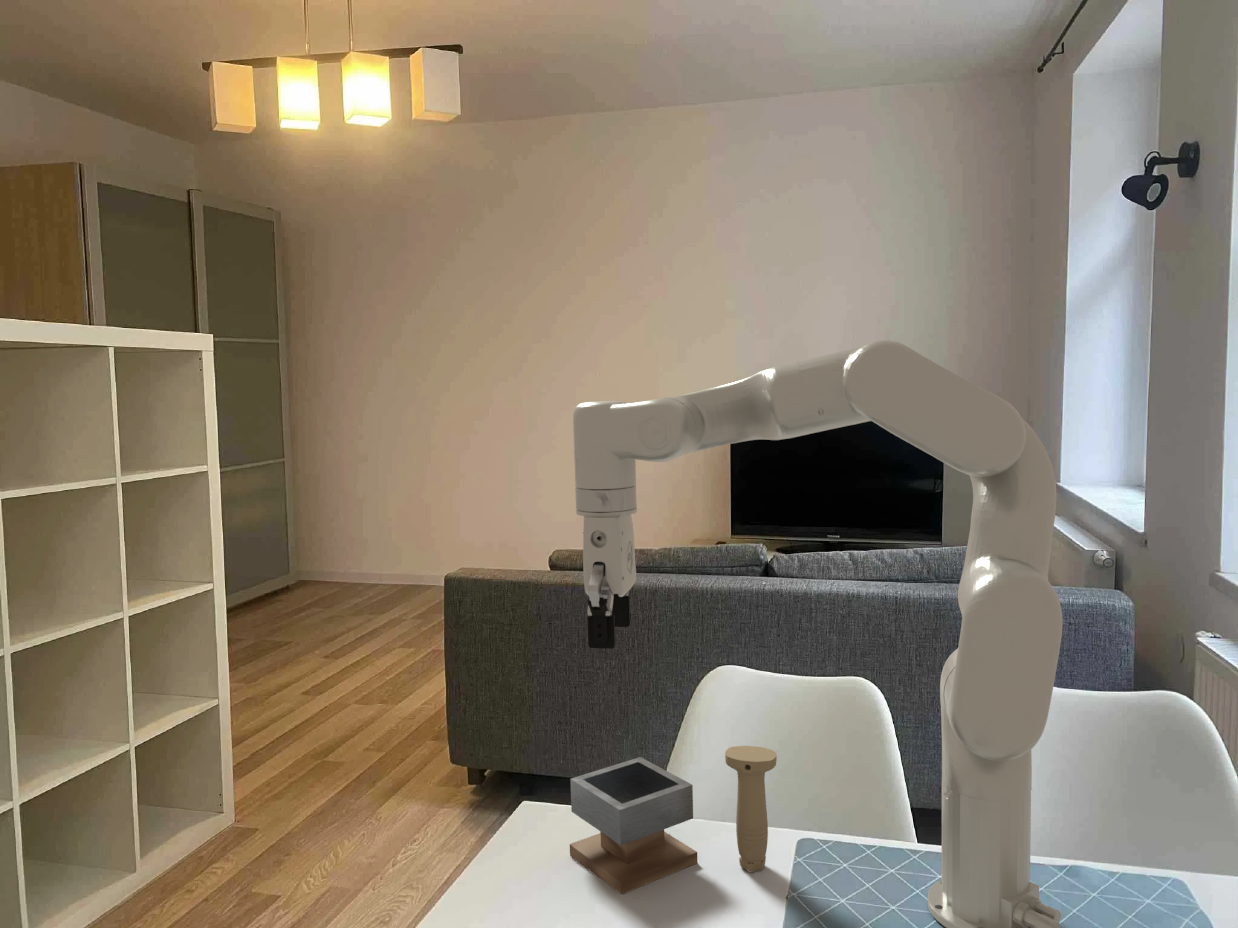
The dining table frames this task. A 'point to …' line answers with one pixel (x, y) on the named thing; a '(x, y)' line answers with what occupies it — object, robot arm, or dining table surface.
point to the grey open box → (631, 800)
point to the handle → (751, 802)
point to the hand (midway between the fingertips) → (610, 636)
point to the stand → (633, 859)
